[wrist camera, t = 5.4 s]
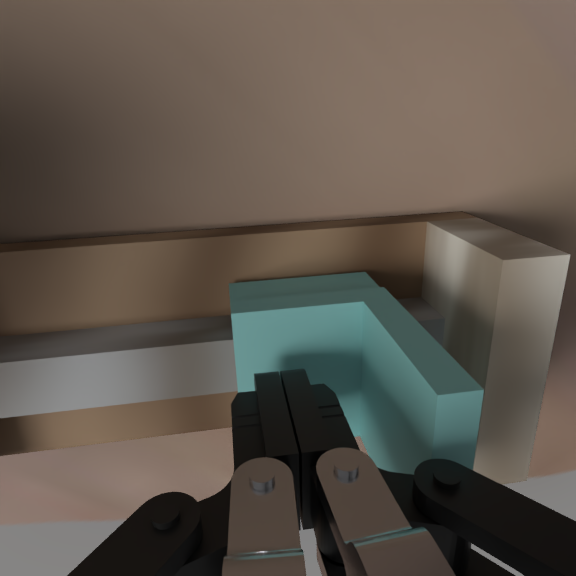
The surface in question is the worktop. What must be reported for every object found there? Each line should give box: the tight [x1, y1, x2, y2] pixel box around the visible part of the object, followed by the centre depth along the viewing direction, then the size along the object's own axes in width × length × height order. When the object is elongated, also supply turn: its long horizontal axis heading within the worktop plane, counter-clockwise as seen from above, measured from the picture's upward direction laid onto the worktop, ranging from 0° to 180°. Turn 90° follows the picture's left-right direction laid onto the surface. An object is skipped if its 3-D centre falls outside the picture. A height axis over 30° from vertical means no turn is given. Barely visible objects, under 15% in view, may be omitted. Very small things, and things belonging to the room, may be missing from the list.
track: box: [0, 211, 571, 485], centre depth 16 cm, size 20×8×6 cm, turn 92°
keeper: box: [229, 272, 484, 475], centre depth 14 cm, size 5×5×8 cm
